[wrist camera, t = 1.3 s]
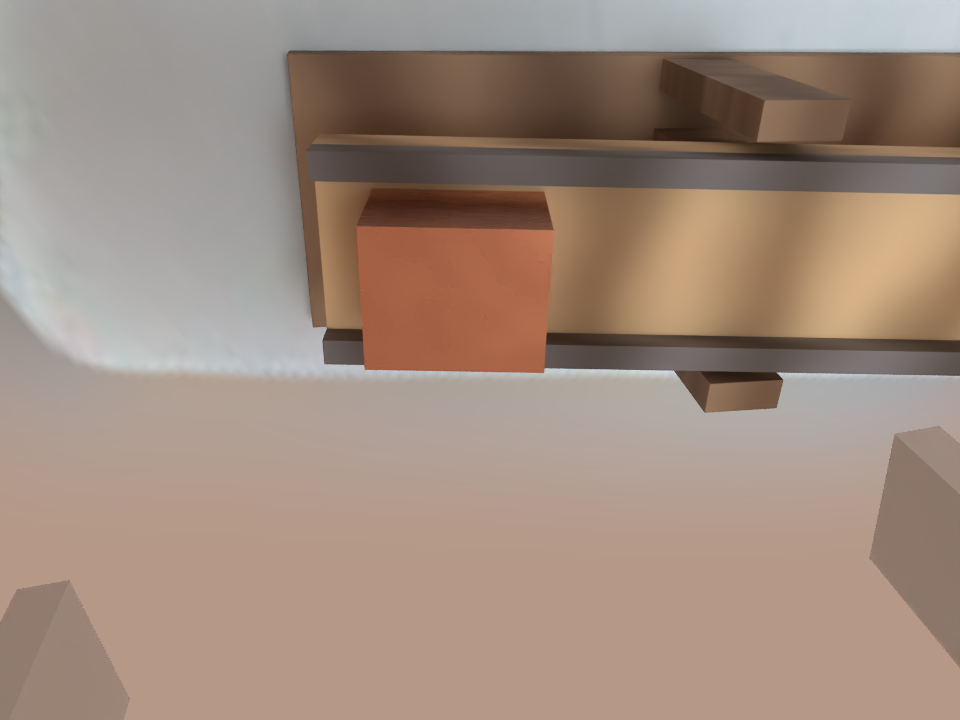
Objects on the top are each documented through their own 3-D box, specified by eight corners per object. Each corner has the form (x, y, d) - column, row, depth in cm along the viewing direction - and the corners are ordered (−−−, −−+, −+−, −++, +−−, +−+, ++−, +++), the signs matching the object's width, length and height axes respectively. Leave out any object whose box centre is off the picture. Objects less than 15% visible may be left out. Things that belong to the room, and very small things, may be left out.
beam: (335, 334, 31) (319, 377, 28) (319, 133, 27) (299, 158, 24) (1116, 348, 32) (1184, 393, 29) (1209, 152, 28) (1300, 179, 25)
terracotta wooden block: (378, 317, 29) (364, 369, 26) (372, 188, 27) (356, 226, 23) (536, 320, 29) (543, 372, 26) (544, 191, 27) (554, 230, 23)
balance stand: (314, 316, 37) (301, 440, 28) (289, 50, 31) (264, 99, 22) (951, 288, 42) (1117, 388, 33) (1033, 53, 36) (1262, 94, 27)
